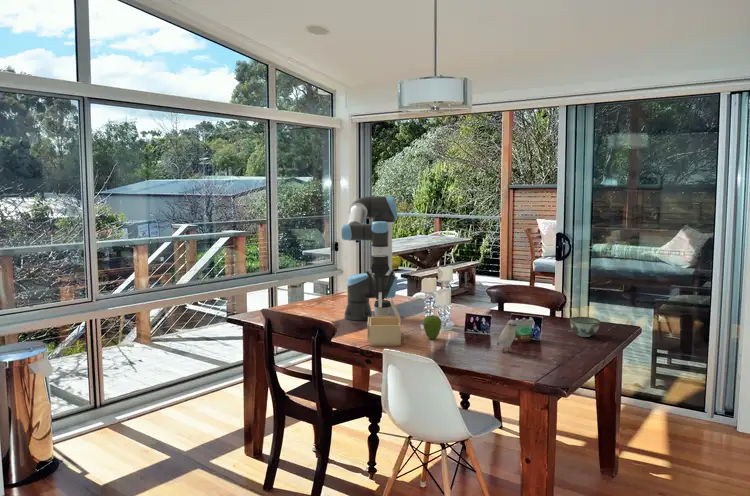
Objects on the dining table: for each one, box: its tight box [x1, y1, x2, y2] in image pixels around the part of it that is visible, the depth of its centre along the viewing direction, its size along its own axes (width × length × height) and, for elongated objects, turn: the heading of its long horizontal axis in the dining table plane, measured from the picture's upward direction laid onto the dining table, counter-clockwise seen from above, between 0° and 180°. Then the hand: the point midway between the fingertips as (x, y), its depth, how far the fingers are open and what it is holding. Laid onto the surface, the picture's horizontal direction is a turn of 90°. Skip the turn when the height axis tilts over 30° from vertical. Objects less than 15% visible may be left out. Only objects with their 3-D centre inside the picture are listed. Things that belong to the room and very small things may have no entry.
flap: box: [389, 298, 402, 325], centre depth 284 cm, size 16×1×10 cm, turn 179°
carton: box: [366, 315, 402, 347], centre depth 285 cm, size 20×15×10 cm
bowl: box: [569, 316, 601, 338], centre depth 292 cm, size 14×13×8 cm
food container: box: [512, 316, 535, 343], centre depth 284 cm, size 12×6×10 cm, turn 117°
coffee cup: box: [373, 299, 392, 316], centre depth 302 cm, size 8×8×15 cm
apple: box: [422, 314, 443, 340], centre depth 288 cm, size 9×8×12 cm
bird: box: [496, 319, 517, 354], centre depth 264 cm, size 5×14×15 cm, turn 23°
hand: (380, 306), depth 284 cm, fingers closed
